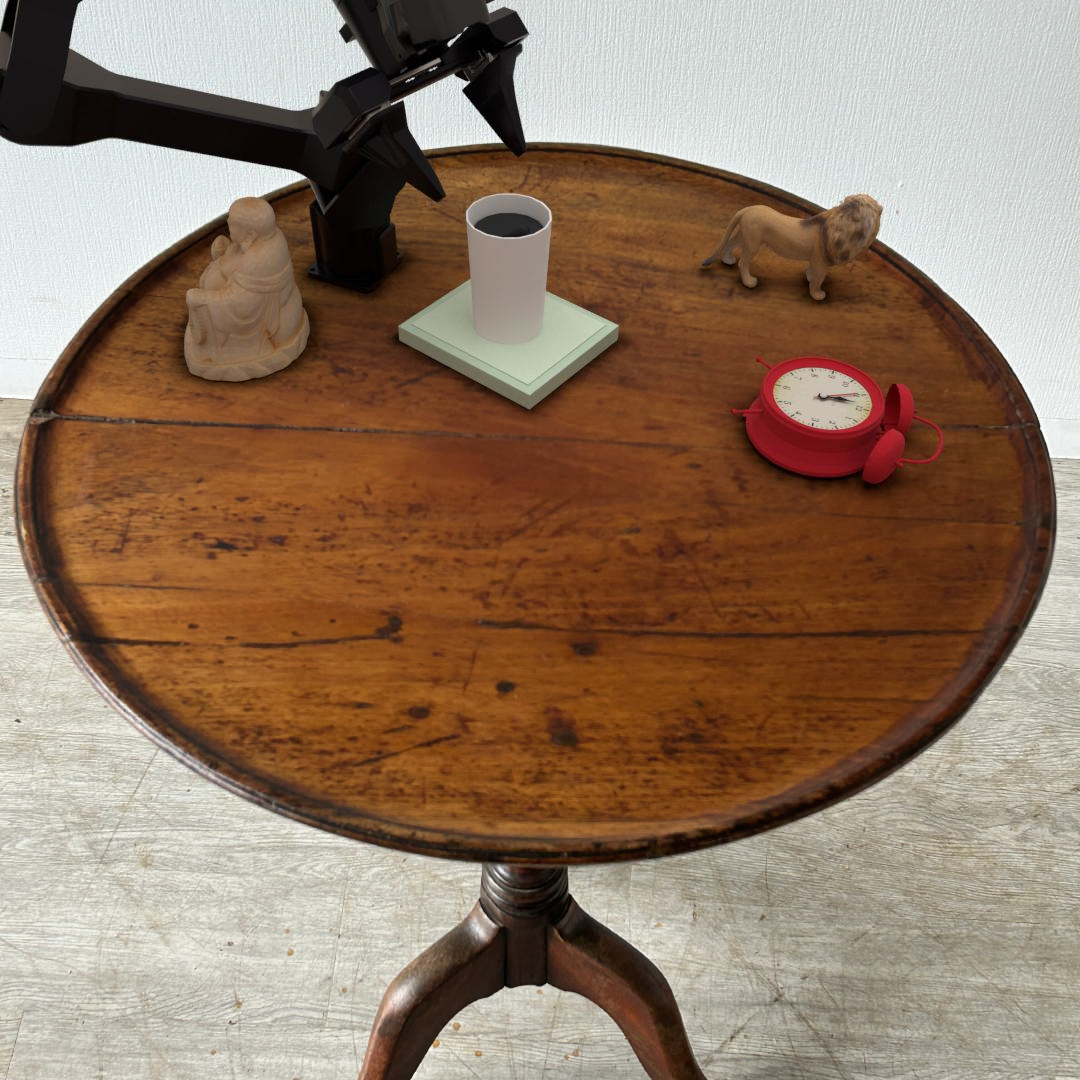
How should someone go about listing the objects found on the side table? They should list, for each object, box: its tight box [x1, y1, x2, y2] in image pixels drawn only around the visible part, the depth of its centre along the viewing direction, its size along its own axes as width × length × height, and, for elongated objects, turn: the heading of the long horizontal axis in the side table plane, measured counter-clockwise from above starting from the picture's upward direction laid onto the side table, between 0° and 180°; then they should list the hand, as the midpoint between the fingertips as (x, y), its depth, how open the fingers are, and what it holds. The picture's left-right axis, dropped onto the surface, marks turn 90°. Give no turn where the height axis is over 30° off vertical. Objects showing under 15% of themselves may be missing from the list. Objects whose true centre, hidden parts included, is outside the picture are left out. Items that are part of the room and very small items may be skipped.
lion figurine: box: [700, 193, 884, 301], centre depth 99 cm, size 15×5×9 cm, turn 80°
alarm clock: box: [730, 356, 944, 485], centre depth 85 cm, size 10×6×15 cm
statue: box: [183, 196, 311, 382], centre depth 90 cm, size 12×14×10 cm
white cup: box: [465, 193, 553, 344], centre depth 90 cm, size 7×7×10 cm
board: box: [397, 278, 620, 410], centre depth 94 cm, size 14×12×2 cm
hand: (483, 176), depth 87 cm, fingers open, 9 cm apart
